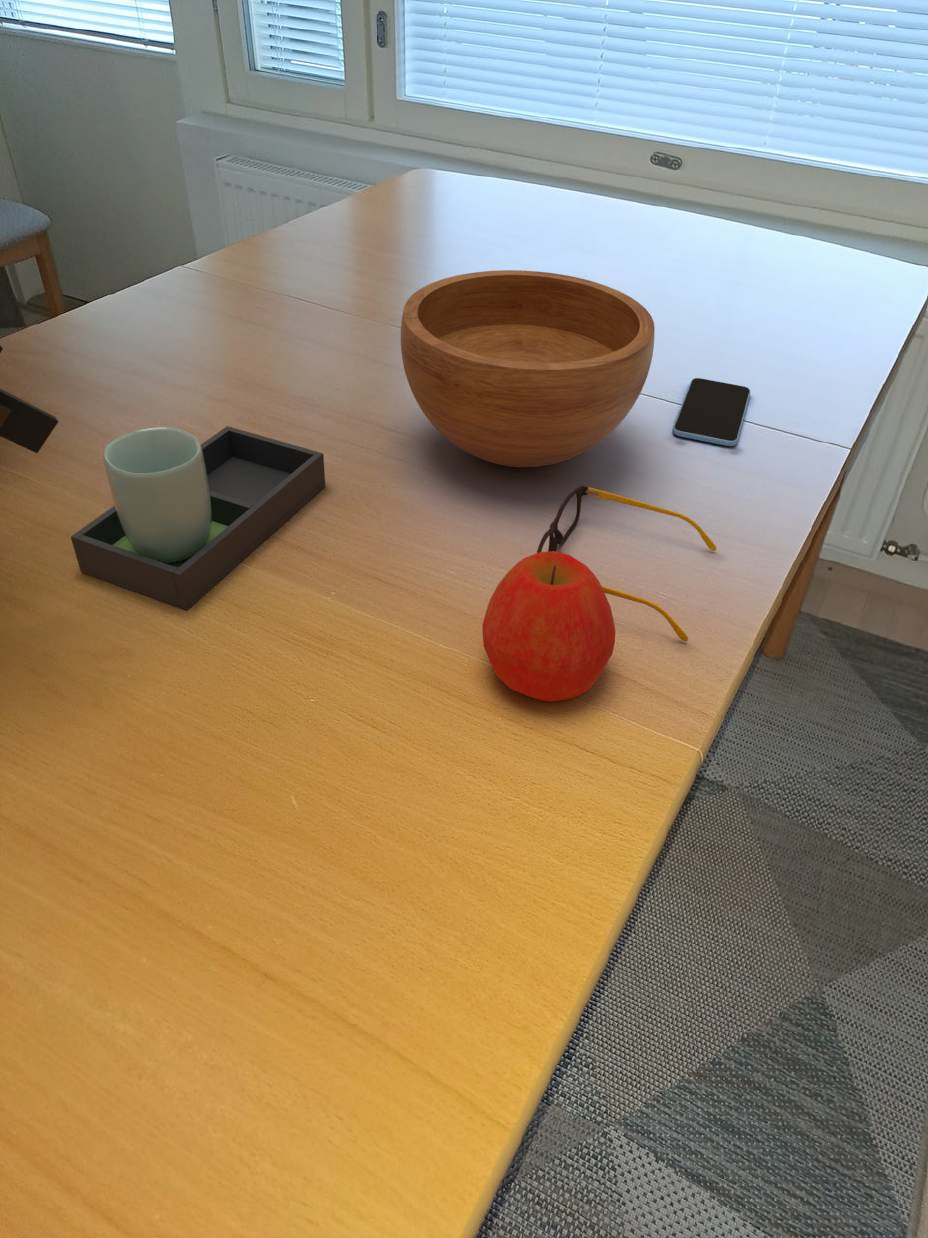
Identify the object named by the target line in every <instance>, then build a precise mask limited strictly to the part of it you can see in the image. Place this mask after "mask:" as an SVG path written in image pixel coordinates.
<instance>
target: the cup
mask: <svg viewBox="0 0 928 1238" xmlns="http://www.w3.org/2000/svg"><path fill="white" fill-rule="evenodd" d="M103 465H104V469H105V474H106V478H107V482H108V486H109V490H110V493H111V498H112V501H113V502H112V503H113V506H115V509H116V512H117V515H118V518H119V521H120V523H121V526H122V529H123V531H124V533H125V535H126V537H127V539H128V541H129V542H130V544H131V545H132V546H133V548H134V549H135V550H136V551H137V552H138V553H139V554H140V555H142V556H145V557H148V558H151V559H154V560H157V561H159V562H162V563H173V562H178V561H182V560H185V559H187V558H189V557H191V556H193V555H195V554H196V553H197V552H198V551H199V550H201V549H202V548H203V547H204V546H205V544H206V543H207V541H208V539H209V535H210V531H211V524H212V512H211V501H210V492H209V485H208V478H207V472H206V466H205V460H204V455H203V450H202V447H201V443H200V441H199V440H198V438H197V437H195V436H194V435H193V434H191V433H189V432H188V431H186V430H183V429H180V428H177V427H169V426H156V427H147V428H142V429H136V430H134V431H133V430H132V431H130V432H128V433H126V434H123V435H119V436H118V437H116V438H115V439H113V440H112V441H110V442H109V443H108V444H107V445H106V446H105V448H104V451H103Z"/></svg>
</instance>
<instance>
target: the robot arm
mask: <svg viewBox="0 0 928 1238" xmlns="http://www.w3.org/2000/svg"><path fill="white" fill-rule="evenodd" d="M3 349H4V348H3V346H2V345H1V344H0V354H1V353H2V351H3ZM58 423H59V420H58V418H57V417H56V416H54V415H53V414H51V413H49V412H47V411H45V410H43V409H41V408H39V407H37V406H35V405H33V404H31V403H29V402H27V401H25V400H23V399H22V398H20V397H18V396H15V395H14V394H12V393H11V392H8V391H6V390H4V389H2V388H0V437H1V438H4V439H5V440H8V441H9V442H12V443H14V444H15V445H18V446H20V447H22V448H24V449H26V450H29V451H31V452H33V453H35V454H38V453H40V450H41V449H42V448H43V446H44V444H45V443H46V441H47V440H48V438H49V437H50V435H52V432H53V431H54V429H55V428H56V426H57V425H58Z"/></svg>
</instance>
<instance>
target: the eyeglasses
mask: <svg viewBox="0 0 928 1238" xmlns="http://www.w3.org/2000/svg"><path fill="white" fill-rule="evenodd" d="M575 495H576V511H575V517H574V519H573V522H572V524H571V525H570V527H569V528H568V529H567V531H566V532H565V534H564V535H563V533H562V532H561V531H560V529H559V527H558V526H559V522H560V519H561V517H562V514H563V512H564V510H565V509H566V507H567V505H568V503H569V502H570V500H571V499H572V498H573V497H574V496H575ZM584 496H590V497H594V498H598V499H602V500H606V501H613V502H616V503H620V504H624V505H628V506H631V507H637V508H640V509H643V510H648V511H652V512H654V513H655V512H657V513H660V514H664V515H667V516H672V517H675V518H679V519H681V520H683V521H684V522H686V523H688V524H689V525H690V526H692V527H693V528H694V529H695V530H696V531H697V532H698V534H699V536H700V537H701V539H702V541H703V542H704V543H705V545H706V546H707V548H708V549H709V550H710V551H711V552H712V551H713V552H715V551H717V549H718V548H717V546H716V544H715V543H714V542H713V540H712V539H711V538H710V537H709V536H708V534H707V533H706V532H705V531H704V530H703V528H701V526H700V525H699V524H698V523H697V522H696V521H694V519H692V518H691V517H688V516H687V515H684V514H683V513H679V512H677V511H673V510H669V509H667V508H664V507H659V506H656V505H652V504H649V503H646V502H643V501H641V500H640V501H639V500H636V499H632V498H630V497H626V496H622V495H619V494H615V493H613V492H608V491H604V490H601V489H597V488H593V487H589V486H586V485H584V484H583V485H580V486H578V487H576V488H575V489H573V490H572V491H571V492H570V493H569V494H568V495H567V496H566V497H565V499H564V500H563V502H562V503H561V504H560V506H559V508H558V510H557V513H556V516H555V518H554V519H553V521H552V522H551V523H550V524H549V528H548V530H547V531H545V533H544V534H543V535H542V537H541V540H540V542H539V544H538V547H537V551H536V554H537V553H539V552H543V547H544V546H545V543H546V541H547V539H549V540H548V551H547V552H551V551H555V552H557V551H558V546H562V545H563V544H564V543H565V542H566V541H567V539H568V538H569V536H570V535H571V533H572V532H573V530H574V529H575V528H576V527H577V525H578V523H579V520H580V516H581V509H582V499H583V497H584ZM601 586H602V589H603V591H604V593H605V594H608V595H611V596H615V597H618V598H622V599H625V600H629V601H632V602H636V603H638V604H639V603H640V604H643V605H645V606H647V607H650V608H652V609H653V610H655V611H657V612H658V613H659V614H661V615H662V616H663V617H664V619H666V621H667V622H668V624H669V625H670V626H671V629H672V630H673V631H674V633H675V634H676V635H677V637H678V638H679V639H680V640H681V641H682V642H688V641H689V636H688V635H687V633H686V631H684V630H683V628H682V627H681V626H680V625H679V624H678V623H677V622H676V621H675V620H674V619H673V617H672V616H671V615H670V614H669V613H668V612H667V611H666V610H665V609H664V608H662V607H661V606H659V605H658V604H657V603H655V602H652V601H650V600H648V599H645V598H642V597H639V596H636V595H633V594H629V593H626V592H623V591H620V590H617V589H613V588H610V587H607V586H604V585H601Z"/></svg>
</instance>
